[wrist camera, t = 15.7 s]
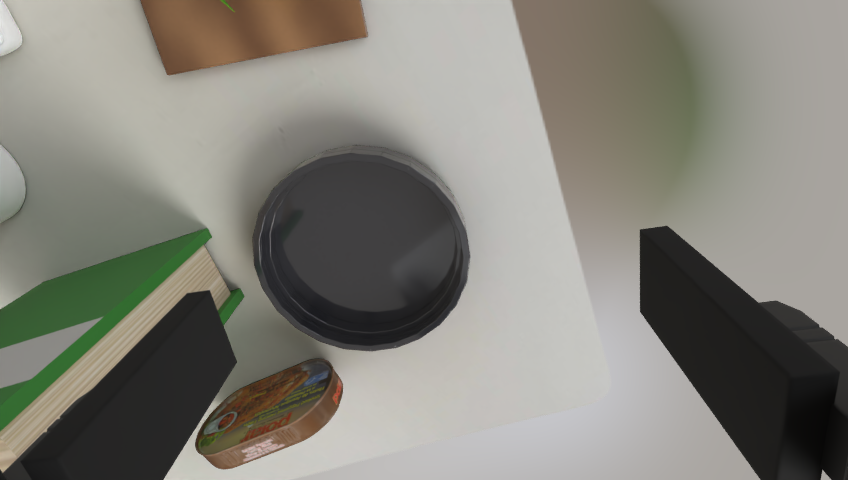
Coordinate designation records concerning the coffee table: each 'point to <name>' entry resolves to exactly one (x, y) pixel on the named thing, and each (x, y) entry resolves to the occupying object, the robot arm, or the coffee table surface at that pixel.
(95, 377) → the hardback book
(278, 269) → the pan
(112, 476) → the robot arm
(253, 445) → the tin
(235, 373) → the coffee table surface
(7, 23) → the calculator
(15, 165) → the candle holder
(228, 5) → the lemon
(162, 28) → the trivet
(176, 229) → the coffee table surface
